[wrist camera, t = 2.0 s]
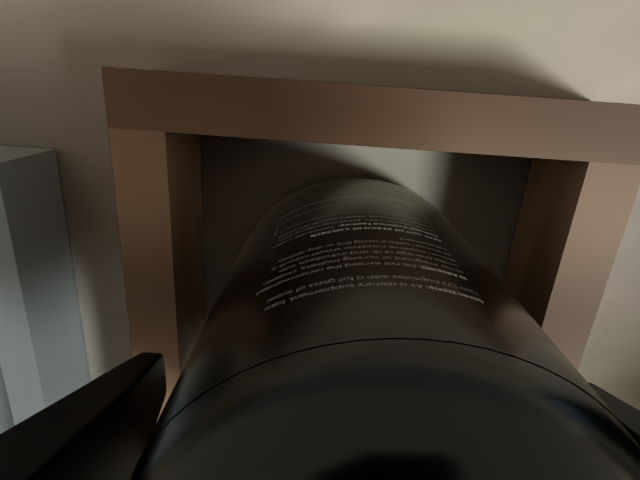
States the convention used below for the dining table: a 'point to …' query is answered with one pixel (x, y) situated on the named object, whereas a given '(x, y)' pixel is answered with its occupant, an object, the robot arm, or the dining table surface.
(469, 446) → the supplement bottle
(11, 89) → the dining table surface
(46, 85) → the dining table surface
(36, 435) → the robot arm
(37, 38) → the dining table surface
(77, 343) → the slate tray
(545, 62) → the dining table surface
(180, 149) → the walnut collar
